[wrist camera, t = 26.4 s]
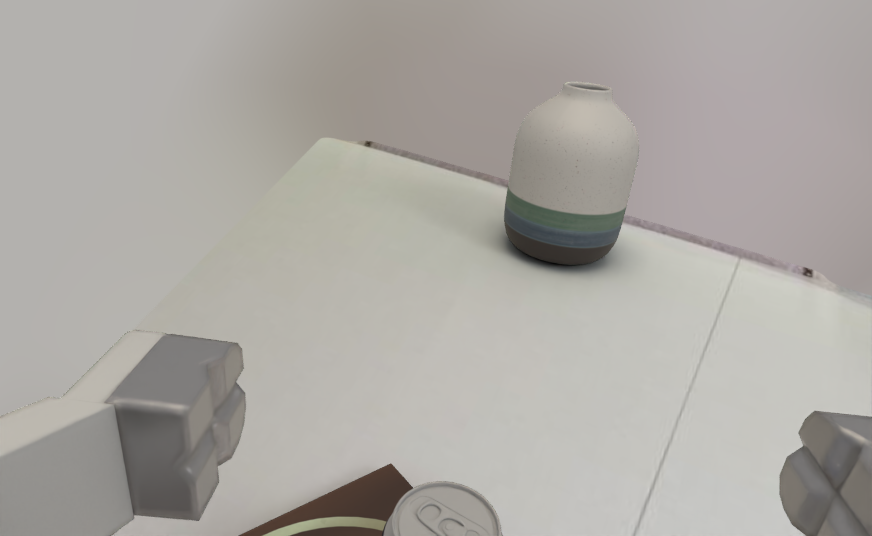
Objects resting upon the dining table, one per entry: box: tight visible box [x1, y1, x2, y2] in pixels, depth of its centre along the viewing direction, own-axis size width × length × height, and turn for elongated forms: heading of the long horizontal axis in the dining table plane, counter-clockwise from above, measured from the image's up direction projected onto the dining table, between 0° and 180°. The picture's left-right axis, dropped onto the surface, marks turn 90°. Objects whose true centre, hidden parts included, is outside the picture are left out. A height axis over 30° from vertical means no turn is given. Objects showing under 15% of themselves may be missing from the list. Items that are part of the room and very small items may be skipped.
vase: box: [504, 82, 639, 265], centre depth 85 cm, size 17×17×24 cm
